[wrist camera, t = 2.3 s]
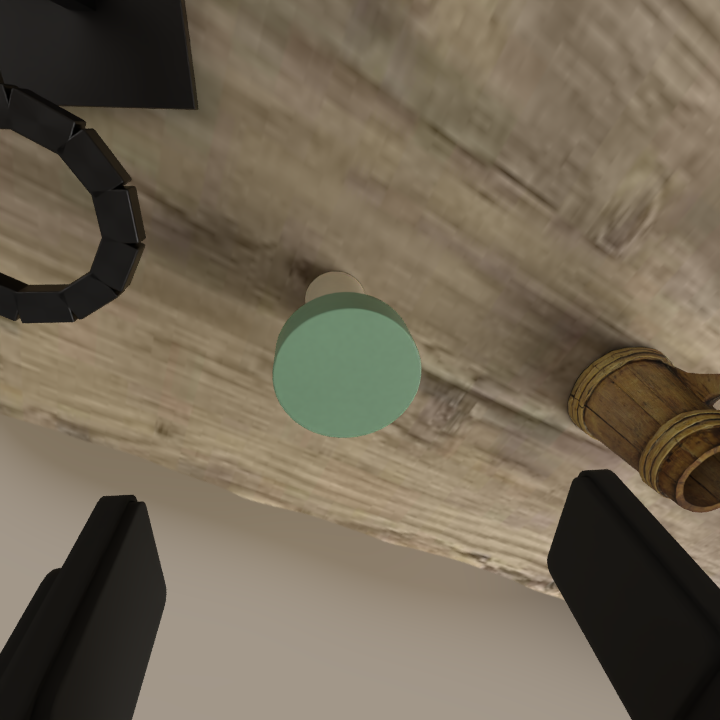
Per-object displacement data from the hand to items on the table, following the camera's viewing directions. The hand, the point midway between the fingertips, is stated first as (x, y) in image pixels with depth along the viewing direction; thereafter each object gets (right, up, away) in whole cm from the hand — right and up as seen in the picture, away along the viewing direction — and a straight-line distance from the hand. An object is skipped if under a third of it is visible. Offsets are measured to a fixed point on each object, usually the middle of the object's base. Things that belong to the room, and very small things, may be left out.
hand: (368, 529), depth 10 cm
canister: (-2, +8, +23) cm, 24 cm away
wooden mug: (+24, +3, +29) cm, 37 cm away
